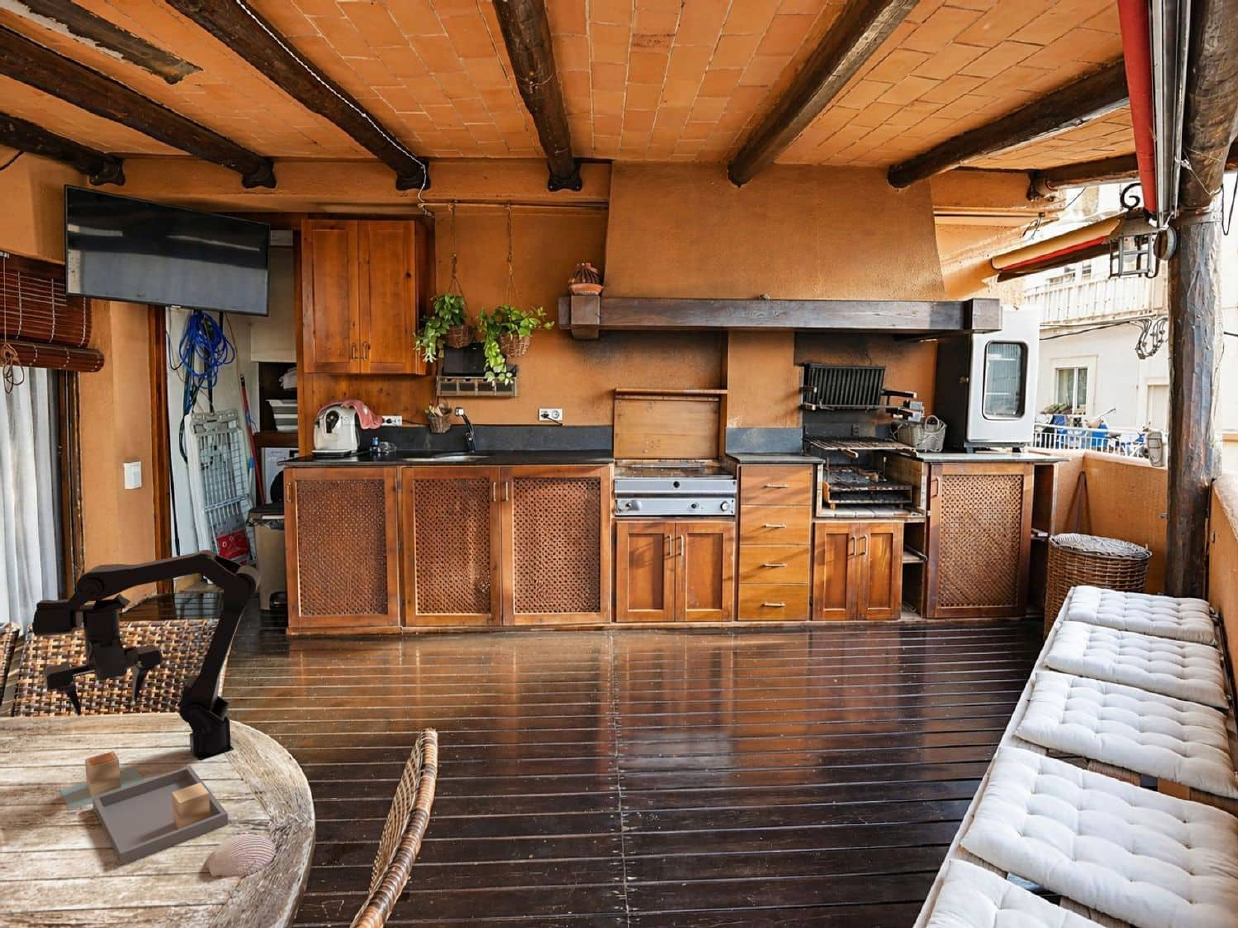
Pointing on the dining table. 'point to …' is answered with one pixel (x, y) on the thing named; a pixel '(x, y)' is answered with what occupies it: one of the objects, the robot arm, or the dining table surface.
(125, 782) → the mat
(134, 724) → the dining table surface
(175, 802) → the plain block
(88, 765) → the labelled block
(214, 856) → the seashell
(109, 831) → the parts bin
